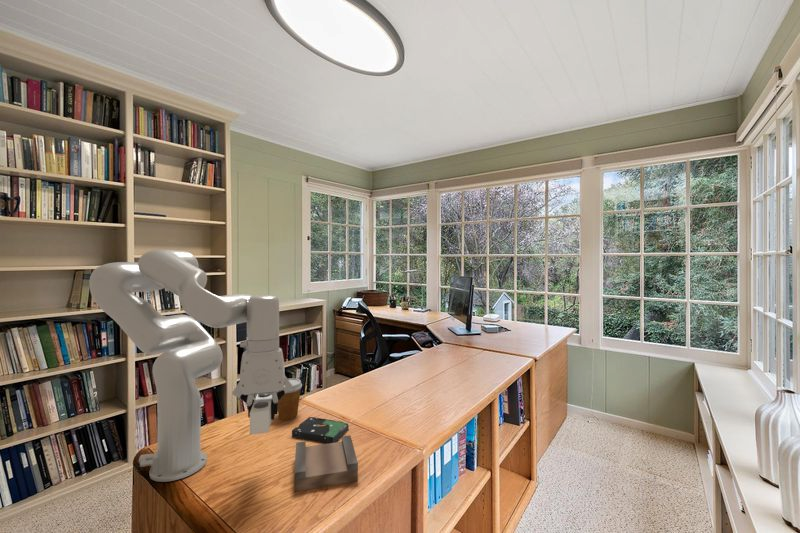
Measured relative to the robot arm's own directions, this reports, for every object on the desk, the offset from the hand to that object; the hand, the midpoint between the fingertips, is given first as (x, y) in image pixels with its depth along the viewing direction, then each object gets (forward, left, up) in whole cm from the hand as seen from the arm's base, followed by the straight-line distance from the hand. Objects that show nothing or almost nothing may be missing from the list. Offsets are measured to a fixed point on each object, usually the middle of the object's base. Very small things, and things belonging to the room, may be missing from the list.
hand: (263, 417), depth 83 cm
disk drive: (+15, +20, -16) cm, 30 cm away
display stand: (+15, 0, -15) cm, 22 cm away
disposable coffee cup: (+4, +35, -16) cm, 39 cm away
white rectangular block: (0, 0, -1) cm, 1 cm away
